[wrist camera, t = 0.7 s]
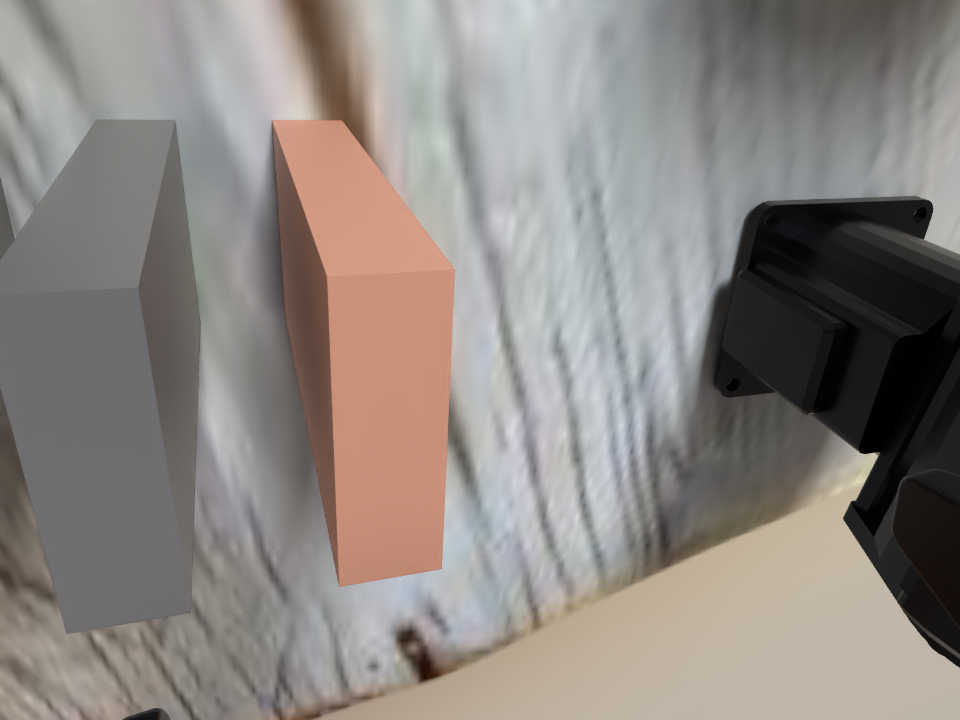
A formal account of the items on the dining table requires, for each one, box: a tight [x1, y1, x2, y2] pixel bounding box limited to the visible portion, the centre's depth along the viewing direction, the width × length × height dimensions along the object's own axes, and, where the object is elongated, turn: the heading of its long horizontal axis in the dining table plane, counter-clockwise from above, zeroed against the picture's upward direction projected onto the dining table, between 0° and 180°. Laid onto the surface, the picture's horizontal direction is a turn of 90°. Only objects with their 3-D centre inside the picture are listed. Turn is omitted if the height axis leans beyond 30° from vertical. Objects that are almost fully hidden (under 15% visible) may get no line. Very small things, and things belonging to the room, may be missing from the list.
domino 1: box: [0, 120, 200, 634], centre depth 14 cm, size 2×5×10 cm, turn 177°
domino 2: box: [272, 120, 455, 587], centre depth 15 cm, size 2×5×10 cm, turn 177°
